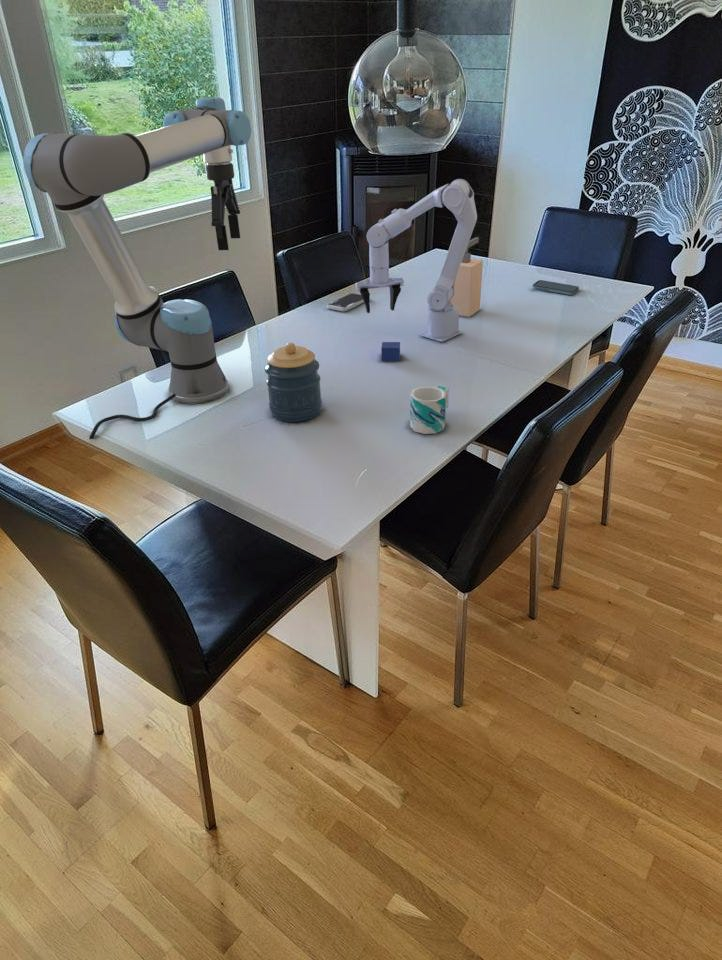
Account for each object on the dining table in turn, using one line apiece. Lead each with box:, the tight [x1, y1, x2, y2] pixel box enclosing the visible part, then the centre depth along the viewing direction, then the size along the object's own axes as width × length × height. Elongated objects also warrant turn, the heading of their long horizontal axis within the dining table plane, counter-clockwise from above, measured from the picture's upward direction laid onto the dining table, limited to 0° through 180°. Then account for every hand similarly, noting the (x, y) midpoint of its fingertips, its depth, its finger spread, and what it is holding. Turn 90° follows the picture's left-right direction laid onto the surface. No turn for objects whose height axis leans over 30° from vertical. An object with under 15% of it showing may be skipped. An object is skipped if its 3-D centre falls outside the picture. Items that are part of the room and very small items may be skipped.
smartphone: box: [326, 292, 364, 312], centre depth 233 cm, size 8×1×15 cm
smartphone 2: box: [531, 279, 580, 296], centre depth 239 cm, size 8×2×15 cm
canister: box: [264, 342, 323, 423], centre depth 161 cm, size 13×13×18 cm
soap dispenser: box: [451, 236, 484, 318], centre depth 219 cm, size 13×9×22 cm
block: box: [380, 341, 401, 362], centre depth 191 cm, size 4×5×4 cm
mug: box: [409, 385, 450, 435], centre depth 156 cm, size 8×12×8 cm
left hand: (229, 244), depth 193 cm, fingers open, 13 cm apart
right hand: (380, 310), depth 207 cm, fingers open, 7 cm apart
